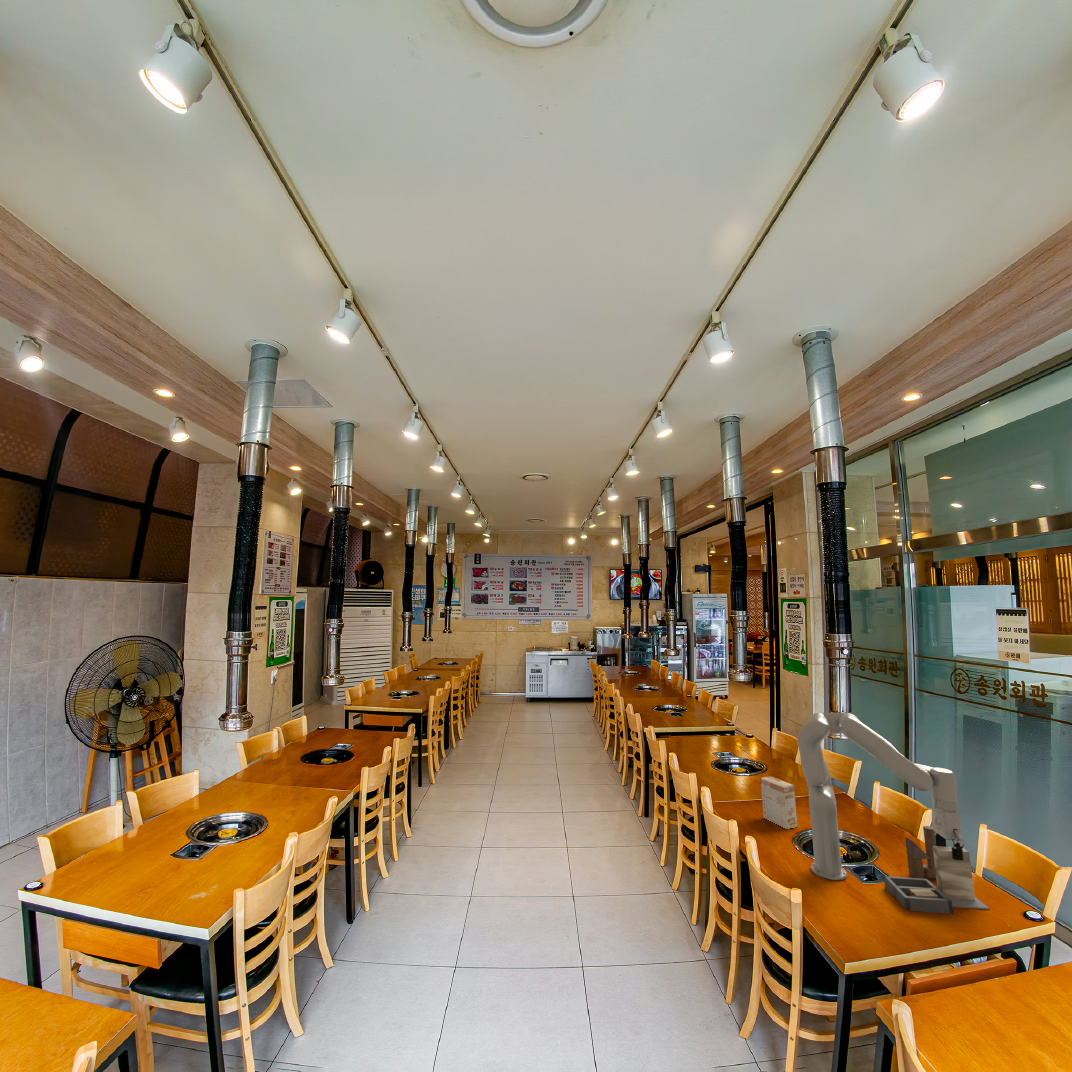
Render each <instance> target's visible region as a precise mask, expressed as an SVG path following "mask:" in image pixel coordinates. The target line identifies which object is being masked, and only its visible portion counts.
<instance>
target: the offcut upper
mask: <svg viewBox="0 0 1072 1072" xmlns="http://www.w3.org/2000/svg"><path fill="white" fill-rule="evenodd" d="M909 890H910V896H912V897H926V898H938V896H937V895H936V894H935V893H934V892H932V891H931V890H927V889H909Z"/></svg>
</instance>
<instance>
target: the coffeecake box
mask: <svg viewBox="0 0 1072 1072" xmlns="http://www.w3.org/2000/svg"><path fill="white" fill-rule="evenodd" d="M760 784H761V785H760V787H761V797H762V798H761V800H762V813H763V814H762V815H763V819H764V818H765V819H764V820H766V819H767V820H766V821H768V820H769V822H770V821H771V823H772V822H773V823H772V824H774V823H775V824H774V825H776V824H777V825H776V826H778V825H779V827H780V826H781V828H782V827H783V828H782V829H784V828H785V830H786V829H788V830H791V829H790V828H794V829H796V828H795V827H798V822H797V821H798V819H797V810H796V809H797V808H796V807H797V806H796V796H795V794H796V793H795V785H794V784H791V783H789V782H786V781H784V780H782V779H779V778H777V777H774V776H764V777H760Z"/></svg>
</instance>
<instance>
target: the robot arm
mask: <svg viewBox="0 0 1072 1072" xmlns="http://www.w3.org/2000/svg"><path fill="white" fill-rule="evenodd" d="M830 734H833V735H834V734H837V735H838V734H842V735H843V736H844V737H845V738H847V739H848V740H850V741H851V742H852V743H854V744H855V745H856V746H858V747H859V748H860V749H862V750H863V751H864V752H866V753H867V754H869V755H870V756H871V757H872V758H874V759H875V760H876V761H877V762H878V763H880V764H881V765H882V766H884V767H885V768H886V769H887V770H889V771H890V772H891V773H892V774H894V775H895V776H897V777H898V778H899V779H900V780H902V781H903V782H904V783H906V784H907V785H909V786H910V787H911V788H913V789H914V790H916V791H919V792H928V791H931V802H932V804H931V805H932V806H931V827H932V828H933V830H934V833H935V839H936V846H941V847H947V841H950V843H951V847H952V858H953V859H954V860H962V861H963V850H962V849H963V848H964V846H965V839H964V837H963V834H962V827H961V821H960V818H959V805H958V804H959V802H958V792H957V781H956V774H955V773H954V772H953V771H952V769H948V768H944V767H935V766H934V767H932V766H928V765H924V764H920V763H915V762H912V761H911V760H909V759H908V758H907V757H906V756H905V755H903V754H902V753H901V752H899V750H898V749H896V747H895V746H893V744H892V743H891V742H889V740H887V739H885V737H883V736H882V735H880V734H879V733H877V732H876V731H875V730H873V729H871V728H870V727H869V726H868V725H866V724H864V723H863V722H862V721H861V720H860V719H859V718H858V717H857V715H855V714H852V713H850V712H816V713H813V714H810V715H809V717H808V718H807V722H806V723H805V724H804V725H803V726H802V727H801V728H800V730H799V732H798V734H797V746H798V751H799V756H800V761H801V765H802V772H803V776H804V777H805V781H806V785H807V789H808V805H809V806H808V807H809V815H810V825H811V838H812V846H813V849H812V850H813V859H814V862H812V863H811V864H810V870H811V872H813V873H814V874H815V875H816V876H818V877H821V878H823V879H827V880H831V881H843V880H845V879H847V877H848V873H847V870H845V869H844V867H842V857H841V846H840V845H841V844H840V834H839V825H838V823H839V822H838V809H837V800H836V796H835V791H834V786H833V783H832V778H831V775H830V771H829V770H830V769H829V767H828V763H827V762H826V761H825V759H824V756H823V751H822V747H821V745H822V741H823V740H824V739H826V738H828V736H830ZM955 842H956V843H955Z"/></svg>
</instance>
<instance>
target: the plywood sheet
mask: <svg viewBox="0 0 1072 1072" xmlns="http://www.w3.org/2000/svg"><path fill="white" fill-rule="evenodd" d="M952 847H953V846H946V847H941V846H933V853H934V862H935V871H936V878H935V879H936V887H937V888H938V889H939V890H940V891H941V892H942V893H943V894H944V895H946V896H947V897H948V898H951V899H965V900H975V897H976V896H975V890H974V889H975V888H974V881H973V880H974V879H973V873H972V866H971V857H970V852H969V851H968V850H967V849H965V848H964V847H963V849H962V850H963V861H962V860H954V859H953V858H952Z"/></svg>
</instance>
